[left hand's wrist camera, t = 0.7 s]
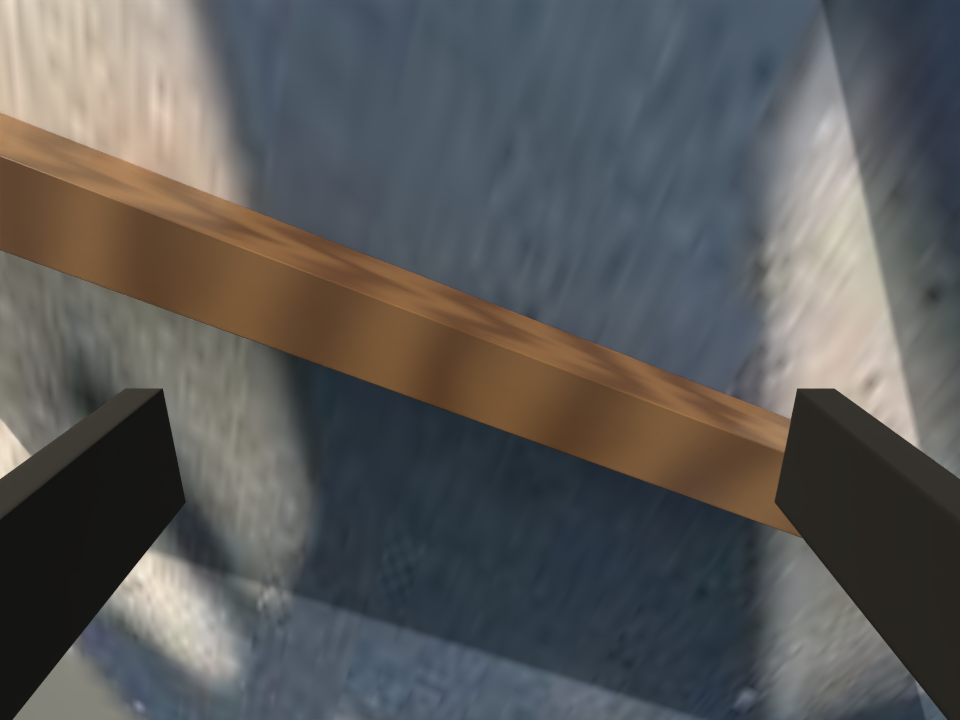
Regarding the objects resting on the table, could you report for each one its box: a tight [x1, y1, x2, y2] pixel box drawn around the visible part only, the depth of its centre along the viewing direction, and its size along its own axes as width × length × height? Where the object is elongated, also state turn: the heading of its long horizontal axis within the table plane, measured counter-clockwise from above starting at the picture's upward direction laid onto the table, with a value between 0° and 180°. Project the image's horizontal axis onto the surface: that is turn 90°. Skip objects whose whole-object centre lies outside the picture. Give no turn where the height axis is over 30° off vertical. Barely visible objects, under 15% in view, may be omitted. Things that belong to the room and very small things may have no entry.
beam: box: [0, 113, 802, 538], centre depth 34 cm, size 71×5×8 cm, turn 68°
